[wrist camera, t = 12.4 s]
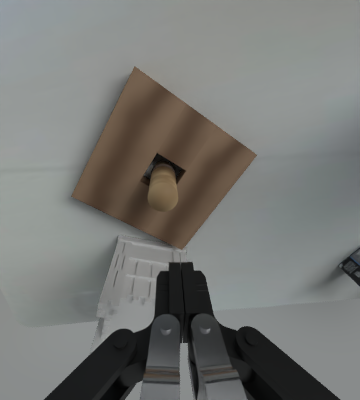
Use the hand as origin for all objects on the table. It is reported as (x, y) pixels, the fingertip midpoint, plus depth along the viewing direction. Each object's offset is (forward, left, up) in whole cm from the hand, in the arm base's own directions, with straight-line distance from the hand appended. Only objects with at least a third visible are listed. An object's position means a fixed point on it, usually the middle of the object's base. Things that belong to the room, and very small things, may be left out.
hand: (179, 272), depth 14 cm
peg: (+1, +1, -23) cm, 23 cm away
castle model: (-7, +21, -23) cm, 32 cm away
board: (+1, +1, -23) cm, 23 cm away
